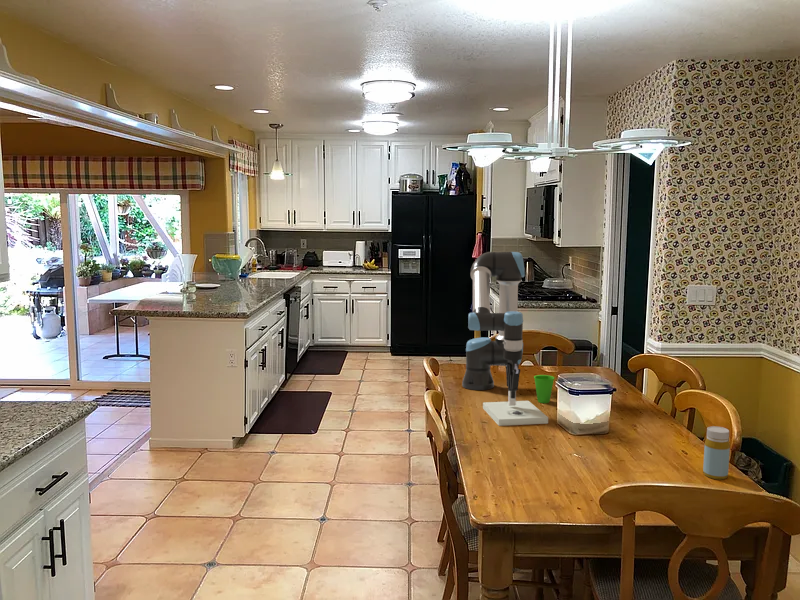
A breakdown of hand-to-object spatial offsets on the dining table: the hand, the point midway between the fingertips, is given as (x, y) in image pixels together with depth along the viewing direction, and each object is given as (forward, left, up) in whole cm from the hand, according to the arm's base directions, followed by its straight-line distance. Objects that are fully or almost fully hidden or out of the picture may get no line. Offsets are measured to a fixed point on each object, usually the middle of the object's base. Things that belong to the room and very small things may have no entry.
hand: (511, 405), depth 270 cm
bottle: (+74, +43, -4) cm, 85 cm away
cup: (-14, +19, -4) cm, 24 cm away
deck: (+4, 0, -3) cm, 5 cm away
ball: (+8, 0, -2) cm, 8 cm away
